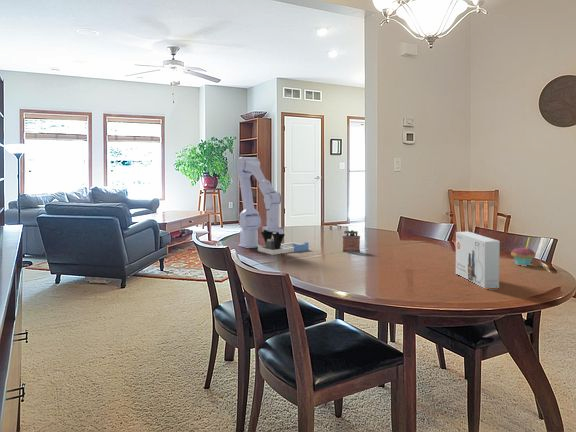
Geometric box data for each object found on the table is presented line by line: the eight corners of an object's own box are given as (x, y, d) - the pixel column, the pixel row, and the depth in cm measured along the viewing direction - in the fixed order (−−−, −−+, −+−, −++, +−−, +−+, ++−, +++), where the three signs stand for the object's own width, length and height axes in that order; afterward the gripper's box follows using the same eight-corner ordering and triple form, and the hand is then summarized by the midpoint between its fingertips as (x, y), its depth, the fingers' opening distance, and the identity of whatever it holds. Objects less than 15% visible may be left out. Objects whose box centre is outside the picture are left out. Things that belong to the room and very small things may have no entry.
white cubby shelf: (257, 250, 212) (257, 243, 211) (293, 246, 224) (293, 239, 224) (273, 255, 202) (273, 247, 201) (309, 249, 214) (309, 242, 214)
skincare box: (453, 274, 164) (455, 231, 163) (468, 274, 165) (469, 231, 163) (483, 290, 144) (485, 240, 142) (499, 289, 144) (502, 240, 142)
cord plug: (265, 251, 210) (265, 239, 209) (274, 250, 213) (274, 238, 212) (270, 253, 206) (270, 240, 206) (279, 251, 209) (279, 239, 209)
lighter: (359, 251, 210) (360, 230, 209) (360, 252, 207) (360, 231, 206) (342, 251, 211) (342, 229, 210) (342, 252, 208) (342, 230, 207)
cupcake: (532, 263, 182) (534, 234, 181) (536, 268, 174) (538, 237, 173) (509, 262, 185) (510, 233, 184) (512, 266, 177) (513, 236, 176)
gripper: (256, 217, 211) (257, 246, 213) (274, 220, 200) (274, 250, 201) (269, 216, 215) (269, 244, 217) (287, 219, 204) (287, 249, 205)
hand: (272, 247), depth 209 cm, fingers open, 7 cm apart
